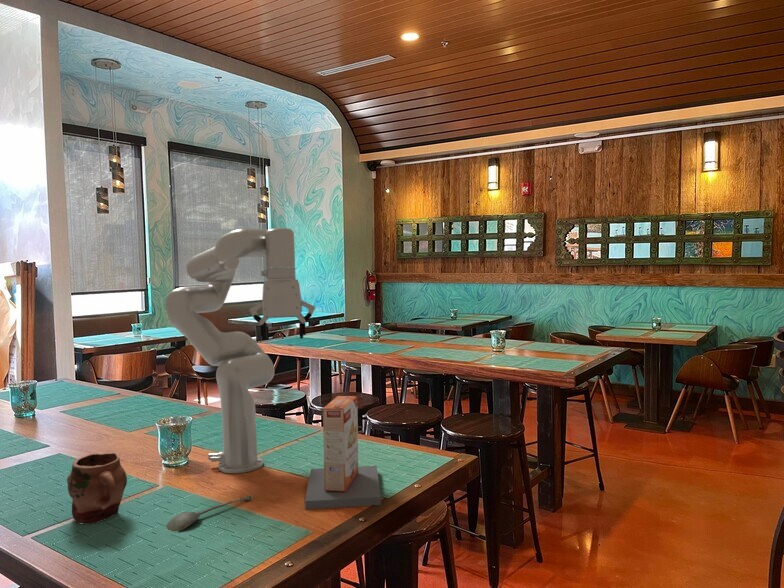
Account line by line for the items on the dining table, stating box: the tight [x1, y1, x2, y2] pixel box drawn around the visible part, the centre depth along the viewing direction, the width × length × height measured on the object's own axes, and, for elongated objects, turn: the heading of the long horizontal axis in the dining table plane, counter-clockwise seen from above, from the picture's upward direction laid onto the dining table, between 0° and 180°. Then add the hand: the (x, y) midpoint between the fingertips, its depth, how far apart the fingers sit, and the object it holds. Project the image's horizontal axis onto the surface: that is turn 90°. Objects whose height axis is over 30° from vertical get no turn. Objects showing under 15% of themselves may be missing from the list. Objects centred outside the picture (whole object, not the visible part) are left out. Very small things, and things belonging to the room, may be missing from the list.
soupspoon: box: [165, 494, 254, 532], centre depth 138 cm, size 22×3×7 cm
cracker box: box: [322, 395, 359, 492], centre depth 150 cm, size 14×6×21 cm, turn 170°
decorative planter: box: [66, 452, 128, 524], centre depth 137 cm, size 20×12×14 cm, turn 51°
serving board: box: [304, 465, 382, 510], centre depth 151 cm, size 18×22×2 cm
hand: (283, 338), depth 158 cm, fingers open, 9 cm apart
